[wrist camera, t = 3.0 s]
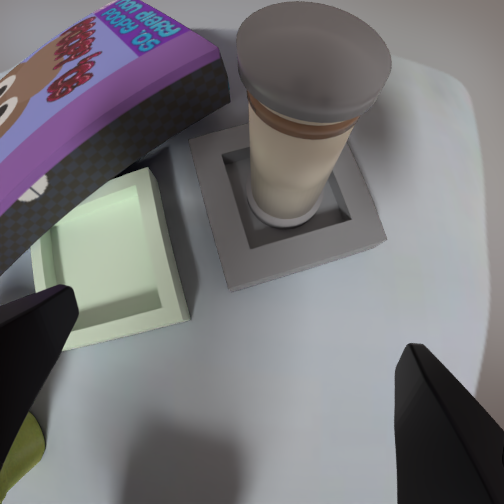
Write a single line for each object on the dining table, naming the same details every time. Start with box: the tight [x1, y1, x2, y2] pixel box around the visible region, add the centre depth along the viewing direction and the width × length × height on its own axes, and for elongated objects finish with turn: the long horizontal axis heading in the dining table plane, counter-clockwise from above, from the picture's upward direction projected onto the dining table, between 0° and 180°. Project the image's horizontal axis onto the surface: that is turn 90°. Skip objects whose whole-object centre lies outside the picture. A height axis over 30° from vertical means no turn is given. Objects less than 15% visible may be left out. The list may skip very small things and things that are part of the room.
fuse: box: [236, 1, 392, 230], centre depth 14 cm, size 5×5×13 cm
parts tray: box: [30, 167, 191, 351], centre depth 20 cm, size 10×10×2 cm
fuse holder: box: [188, 123, 387, 292], centre depth 21 cm, size 10×10×2 cm
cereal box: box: [0, 0, 230, 276], centre depth 20 cm, size 17×5×24 cm
